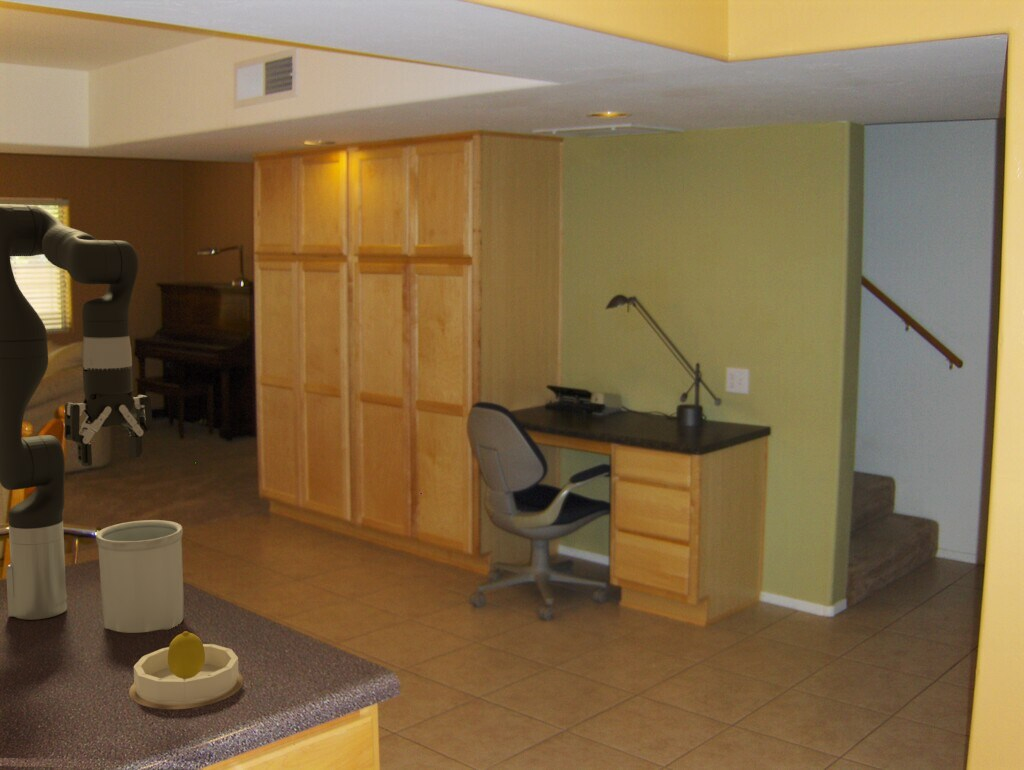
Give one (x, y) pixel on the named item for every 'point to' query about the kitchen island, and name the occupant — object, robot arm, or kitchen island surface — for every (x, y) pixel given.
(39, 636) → the kitchen island surface
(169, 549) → the utensil holder
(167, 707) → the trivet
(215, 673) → the bowl
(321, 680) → the kitchen island surface
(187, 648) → the lemon
